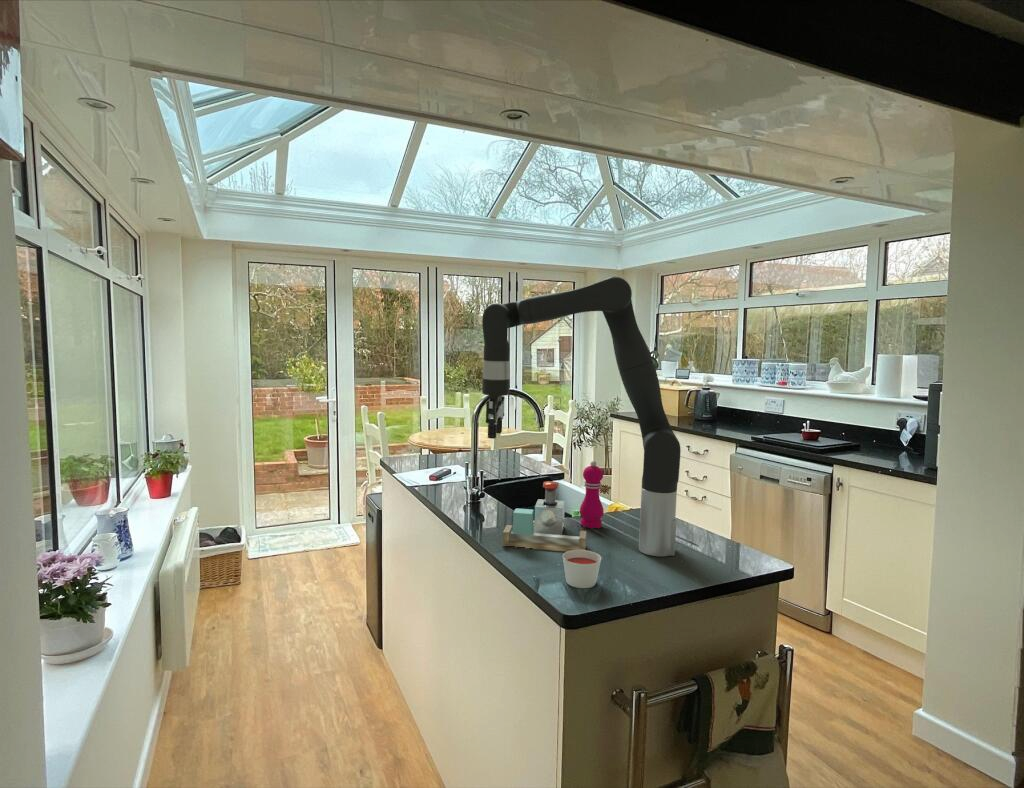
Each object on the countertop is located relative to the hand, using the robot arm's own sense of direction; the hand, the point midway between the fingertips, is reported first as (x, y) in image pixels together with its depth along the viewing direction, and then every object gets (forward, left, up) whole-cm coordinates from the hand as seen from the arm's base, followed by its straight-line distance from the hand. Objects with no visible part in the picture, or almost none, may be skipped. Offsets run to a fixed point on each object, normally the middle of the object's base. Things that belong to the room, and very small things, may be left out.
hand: (494, 435), depth 167 cm
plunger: (-15, -10, -24) cm, 30 cm away
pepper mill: (-27, -17, -30) cm, 43 cm away
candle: (-26, +25, -30) cm, 47 cm away
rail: (-15, +3, -29) cm, 33 cm away
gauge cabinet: (-15, -10, -29) cm, 34 cm away
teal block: (-9, +3, -26) cm, 28 cm away
